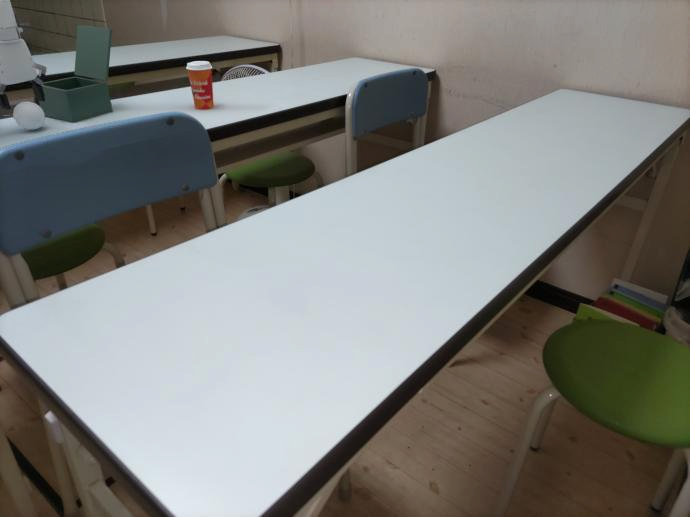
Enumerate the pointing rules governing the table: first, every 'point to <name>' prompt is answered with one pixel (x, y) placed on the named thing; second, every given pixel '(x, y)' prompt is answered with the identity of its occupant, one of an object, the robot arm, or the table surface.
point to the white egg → (29, 115)
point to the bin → (75, 99)
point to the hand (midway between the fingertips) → (23, 104)
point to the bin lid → (93, 52)
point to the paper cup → (201, 84)
